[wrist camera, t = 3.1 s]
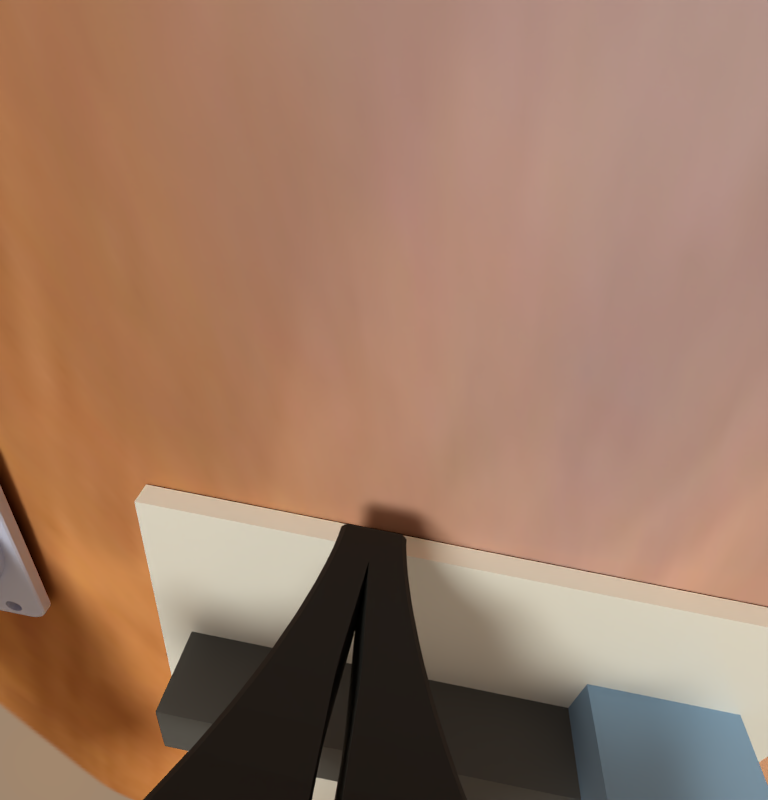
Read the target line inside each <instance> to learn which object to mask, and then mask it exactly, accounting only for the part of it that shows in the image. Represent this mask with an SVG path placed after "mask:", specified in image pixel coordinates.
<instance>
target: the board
mask: <svg viewBox="0 0 768 800" xmlns="http://www.w3.org/2000/svg"><path fill="white" fill-rule="evenodd" d="M135 506H136V511H137V516H138V520H139V525H140V530H141V534H142V539H143V544H144V548H145V553H146V558H147V563H148V567H149V572H150V577H151V581H152V586H153V591H154V595H155V600H156V605H157V609H158V614H159V619H160V623H161V628H162V633H163V637H164V642H165V647H166V651H167V656H168V661H169V665H170V670H171V675H172V674H173V672H174V670H175V668H176V665H177V663H178V661H179V659H180V656H181V654H182V652H183V650H184V648H185V645H186V643H187V641H188V639H189V636H190V634H191V632H197V633H202V634H207V635H212V636H217V637H222V638H227V639H232V640H237V641H241V642H246V643H251V644H256V645H261V646H266V647H271V648H273V646H274V645H275V644H276V642H277V641H278V639H279V638H280V636H281V635H282V633H283V632H284V630H285V629H286V627H287V626H288V625H289V623H290V622H291V620H292V619H293V617H294V616H295V614H296V613H297V611H298V610H299V608H300V606H301V605H302V603H303V601H304V600H305V598H306V596H307V595H308V593H309V591H310V590H311V588H312V586H313V585H314V583H315V581H316V580H317V578H318V576H319V574H320V572H321V570H322V569H323V567H324V565H325V563H326V561H327V559H328V557H329V555H330V553H331V551H332V549H333V547H334V544H335V542H336V540H337V537H338V535H339V532H340V529H341V526H343V525H345V524H344V523H339V522H334V521H329V520H324V519H318V518H313V517H308V516H303V515H298V514H293V513H288V512H283V511H278V510H273V509H268V508H263V507H258V506H253V505H248V504H243V503H238V502H233V501H227V500H222V499H217V498H212V497H207V496H202V495H197V494H192V493H187V492H182V491H177V490H172V489H167V488H162V487H157V486H152V485H147V484H146V485H145V487H144V488H143V490H142V491H141V493H140V494H139V496H138V497H137V499H136V500H135ZM403 536H404V535H403ZM404 537H405V538H406V539H407V543H406V552H407V569H408V579H409V586H410V594H411V601H412V607H413V613H414V618H415V623H416V628H417V633H418V638H419V643H420V647H421V652H422V656H423V661H424V665H425V668H426V672H427V676H428V680H433V681H438V682H443V683H448V684H453V685H458V686H463V687H468V688H473V689H478V690H482V691H487V692H492V693H497V694H502V695H507V696H512V697H517V698H522V699H527V700H532V701H537V702H541V703H546V704H551V705H556V706H561V707H566V708H569V706H570V705H571V704H572V703H573V701H574V700H575V699H576V697H577V696H578V695H579V694H580V692H581V691H582V690H583V689H584V687H585V686H586V685H587V684H590V685H595V686H600V687H605V688H610V689H615V690H620V691H625V692H629V693H634V694H639V695H644V696H649V697H654V698H659V699H664V700H669V701H674V702H679V703H684V704H689V705H694V706H699V707H704V708H709V709H714V710H718V711H723V712H728V713H733V714H738V715H741V718H742V720H743V723H744V726H745V728H746V731H747V733H748V736H749V739H750V741H751V744H752V746H753V749H754V752H755V754H756V757H757V759H758V762H760V761H762V760H763V759H765V758H766V757H768V607H763V606H758V605H753V604H748V603H743V602H738V601H733V600H728V599H723V598H718V597H713V596H708V595H703V594H698V593H692V592H687V591H682V590H677V589H672V588H667V587H662V586H657V585H652V584H647V583H642V582H637V581H632V580H627V579H622V578H617V577H612V576H607V575H601V574H596V573H591V572H586V571H581V570H576V569H571V568H566V567H561V566H556V565H551V564H546V563H541V562H536V561H531V560H526V559H521V558H516V557H511V556H505V555H500V554H495V553H490V552H485V551H480V550H475V549H470V548H465V547H460V546H455V545H450V544H445V543H440V542H435V541H430V540H425V539H420V538H414V537H409V536H404ZM354 634H355V632H354ZM353 644H354V636H353V639H352V643H351V647H350V650H349V654H348V657H347V661H346V663H350V664H352V654H353ZM337 783H338V782H336V781H331V780H326V779H322V778H317V777H316V782H315V787H314V792H313V797H312V800H335V794H336V788H337Z"/></svg>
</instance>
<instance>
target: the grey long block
mask: <svg viewBox="0 0 768 800" xmlns="http://www.w3.org/2000/svg"><path fill="white" fill-rule="evenodd" d="M271 649H272V648H271V647H266V646H261V645H256V644H251V643H246V642H241V641H237V640H232V639H227V638H222V637H217V636H212V635H207V634H202V633H197V632H191V634H190V636H189V639H188V641H187V643H186V645H185V648H184V650H183V652H182V654H181V656H180V659H179V661H178V663H177V665H176V668H175V670H174V672H173V674H172V677H171V679H170V681H169V683H168V685H167V688H166V690H165V692H164V694H163V697H162V699H161V701H160V703H159V706H158V708H157V710H156V715H157V719H158V722H159V726H160V730H161V733H162V737H163V740H164V744H165V746H168V747H173V748H177V749H182V750H187V751H189V750H190V749H191V748H192V747H193V746H194V745H195V744H196V742H197V741H198V740H199V739H200V738H201V737H202V736H203V734H204V733H205V732H206V731H207V730H208V729H209V728H210V726H211V725H212V724H213V723H214V722H215V720H216V719H217V718H218V717H219V716H220V714H221V713H222V712H223V711H224V710H225V708H226V707H227V706H228V705H229V704H230V703H231V701H232V700H233V699H234V698H235V696H236V695H237V694H238V693H239V691H240V690H241V689H242V688H243V686H244V685H245V684H246V683H247V681H248V680H249V679H250V677H251V676H252V675H253V674H254V672H255V671H256V670H257V668H258V667H259V666H260V664H261V663H262V662H263V660H264V659H265V658H266V656H267V655H268V653H269V652H270V651H271ZM350 674H351V664H350V663H346V665H345V668H344V672H343V675H342V679H341V683H340V686H339V690H338V693H337V697H336V701H335V704H334V708H333V711H332V715H331V719H330V722H329V726H328V729H327V733H326V737H325V741H324V745H323V749H322V753H321V757H320V762H319V767H318V772H317V778H322V779H326V780H331V781H336V782H338V777H339V771H340V765H341V758H342V751H343V743H344V735H345V725H346V715H347V705H348V694H349V684H350ZM429 684H430V688H431V692H432V695H433V699H434V702H435V706H436V709H437V713H438V716H439V719H440V722H441V726H442V729H443V732H444V735H445V738H446V742H447V745H448V748H449V750H450V753H451V756H452V759H453V762H454V765H455V768H456V771H457V774H458V777H459V780H460V782H461V785H462V787H463V790H464V793H465V795H466V798H467V800H768V785H767V783H766V780H765V778H764V775H763V772H762V770H761V767H760V765H759V762H758V759H757V757H756V754H755V752H754V749H753V746H752V744H751V741H750V739H749V736H748V733H747V731H746V728H745V726H744V723H743V720H742V718H741V715H738V714H733V713H728V712H723V711H718V710H714V709H709V708H704V707H699V706H694V705H689V704H684V703H679V702H674V701H669V700H664V699H659V698H654V697H649V696H644V695H639V694H634V693H629V692H625V691H620V690H615V689H610V688H605V687H600V686H595V685H590V684H587V685H586V686H585V687H584V689H583V690H582V691H581V692H580V694H579V695H578V696H577V697H576V699H575V700H574V701H573V703H572V704H571V705H570V706H569V708H566V707H561V706H556V705H551V704H546V703H541V702H537V701H532V700H527V699H522V698H517V697H512V696H507V695H502V694H497V693H492V692H487V691H482V690H478V689H473V688H468V687H463V686H458V685H453V684H448V683H443V682H438V681H433V680H429Z"/></svg>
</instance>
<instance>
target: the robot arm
mask: <svg viewBox="0 0 768 800" xmlns="http://www.w3.org/2000/svg"><path fill="white" fill-rule="evenodd" d="M406 543H407V539H406V538H405V537H404V536H403V535H402V534H397V533H392V532H387V531H382V530H377V529H372V528H367V527H362V526H357V525H352V524H345V525H343V526H341V529H340V532H339V535H338V537H337V540H336V542H335V544H334V547H333V549H332V551H331V553H330V555H329V557H328V559H327V561H326V563H325V565H324V567H323V569H322V570H321V572H320V574H319V576H318V578H317V580H316V581H315V583H314V585H313V586H312V588H311V590H310V591H309V593H308V595H307V596H306V598H305V600H304V601H303V603H302V605H301V606H300V608H299V610H298V611H297V613H296V614H295V616H294V617H293V619H292V620H291V622H290V623H289V625H288V626H287V627H286V629H285V630H284V632H283V633H282V635H281V636H280V638H279V639H278V641H277V642H276V644H275V645H274V646H273V648H272V649H271V651H270V652H269V653H268V655H267V656H266V658H265V659H264V660H263V662H262V663H261V664H260V666H259V667H258V668H257V670H256V671H255V672H254V674H253V675H252V676H251V677H250V679H249V680H248V681H247V683H246V684H245V685H244V686H243V688H242V689H241V690H240V691H239V693H238V694H237V695H236V696H235V698H234V699H233V700H232V701H231V703H230V704H229V705H228V706H227V707H226V708H225V710H224V711H223V712H222V713H221V714H220V716H219V717H218V718H217V719H216V720H215V722H214V723H213V724H212V725H211V726H210V728H209V729H208V730H207V731H206V732H205V733H204V734H203V736H202V737H201V738H200V739H199V740H198V741H197V742H196V744H195V745H194V746H193V747H192V748H191V749H190V750H189V751H188V752H187V753H186V755H185V756H184V757H183V758H182V759H181V760H180V761H179V762H178V763H177V764H176V765H175V766H174V767H173V769H172V770H171V771H170V772H169V773H168V774H167V775H166V776H165V777H164V778H163V779H162V780H161V781H160V782H159V784H158V785H157V786H156V787H155V788H154V789H153V790H152V791H151V792H150V793H149V794H148V795H147V796H146V797H145V798H144V799H143V800H312V797H313V792H314V787H315V782H316V777H317V772H318V767H319V762H320V757H321V753H322V749H323V745H324V741H325V737H326V733H327V729H328V726H329V722H330V719H331V715H332V711H333V708H334V704H335V701H336V697H337V693H338V690H339V686H340V683H341V679H342V675H343V672H344V668H345V665H346V661H347V657H348V654H349V650H350V647H351V643H352V639H353V636H354V644H353V654H352V664H351V674H350V684H349V694H348V705H347V715H346V725H345V735H344V743H343V751H342V758H341V765H340V771H339V777H338V783H337V788H336V794H335V800H467V798H466V795H465V793H464V790H463V787H462V785H461V782H460V780H459V777H458V774H457V771H456V768H455V765H454V762H453V759H452V756H451V753H450V750H449V748H448V745H447V742H446V738H445V735H444V732H443V729H442V726H441V722H440V719H439V716H438V713H437V709H436V706H435V702H434V699H433V695H432V692H431V688H430V684H429V680H428V676H427V672H426V668H425V665H424V661H423V656H422V652H421V647H420V643H419V638H418V633H417V628H416V623H415V618H414V613H413V607H412V601H411V594H410V586H409V579H408V569H407V552H406ZM50 606H51V603H50V600H49V598H48V595H47V593H46V591H45V588H44V586H43V584H42V581H41V579H40V577H39V574H38V572H37V570H36V567H35V565H34V563H33V560H32V558H31V556H30V553H29V551H28V549H27V546H26V544H25V542H24V539H23V537H22V535H21V532H20V530H19V528H18V525H17V523H16V521H15V518H14V516H13V514H12V511H11V509H10V507H9V504H8V502H7V500H6V497H5V495H4V493H3V490H2V488H1V486H0V610H2V611H7V612H12V613H17V614H22V615H26V616H31V617H40V616H43V615H44V614H45V613H46V612H47V610H48V609H49V607H50ZM354 632H355V634H354Z"/></svg>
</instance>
